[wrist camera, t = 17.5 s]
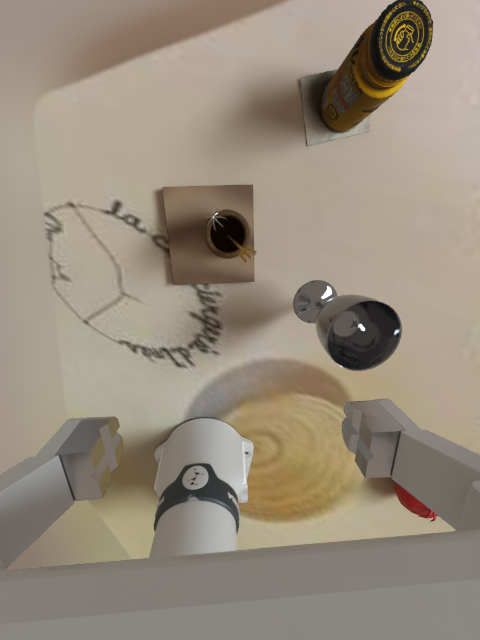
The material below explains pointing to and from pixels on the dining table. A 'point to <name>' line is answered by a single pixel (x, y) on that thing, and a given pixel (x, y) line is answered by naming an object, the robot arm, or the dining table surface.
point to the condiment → (367, 73)
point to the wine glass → (349, 325)
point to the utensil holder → (228, 235)
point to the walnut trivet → (188, 233)
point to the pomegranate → (413, 503)
